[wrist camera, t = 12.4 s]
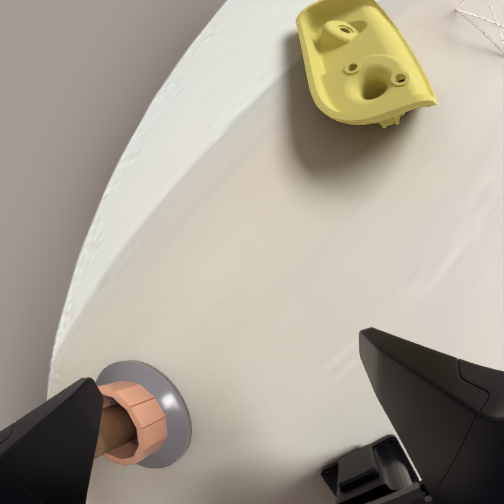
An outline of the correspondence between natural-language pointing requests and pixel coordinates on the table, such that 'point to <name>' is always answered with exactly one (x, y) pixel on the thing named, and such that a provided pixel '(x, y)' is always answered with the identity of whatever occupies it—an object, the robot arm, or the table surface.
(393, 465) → the robot arm
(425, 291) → the table surface
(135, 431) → the walnut rail post
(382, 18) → the plastic component
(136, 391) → the ring
